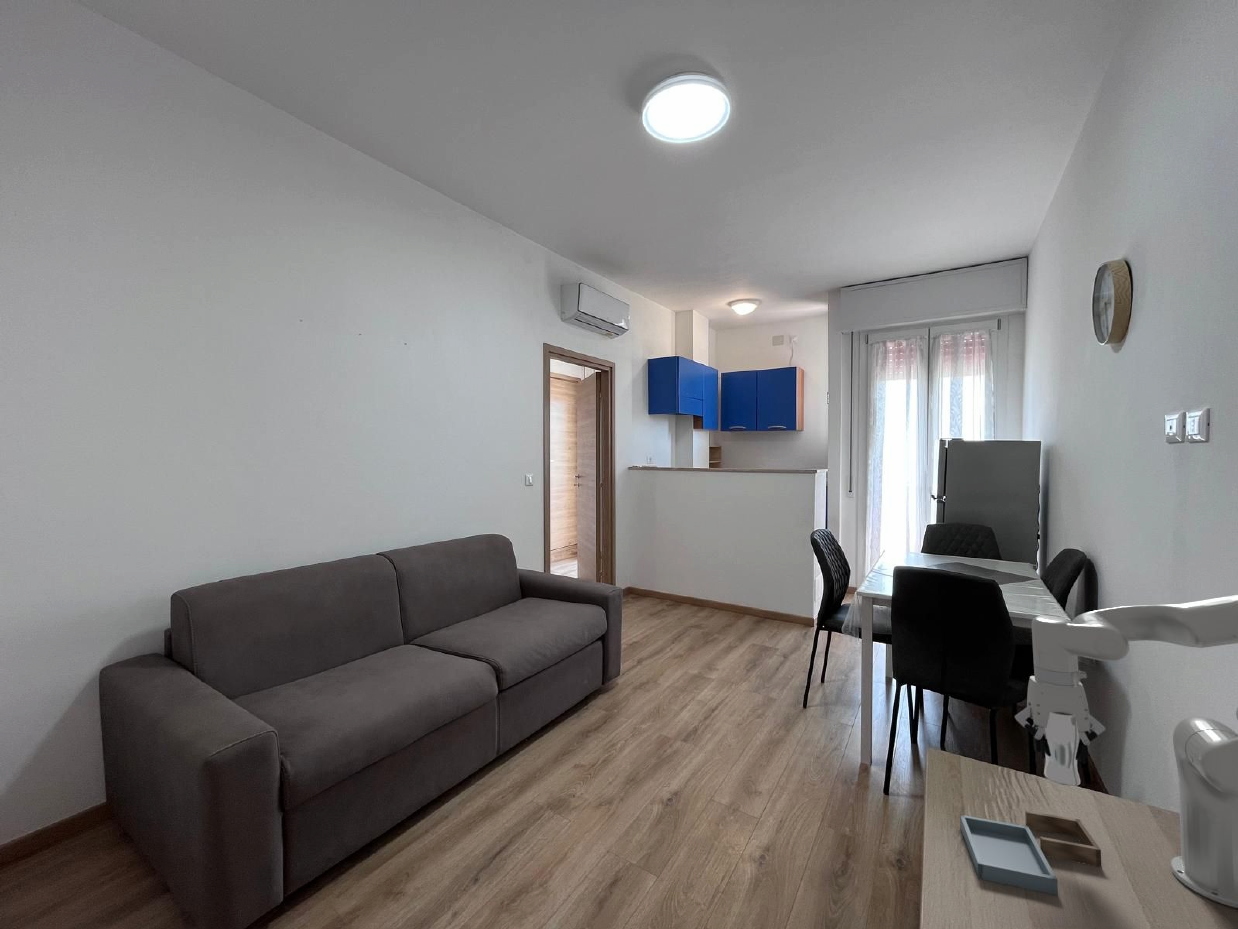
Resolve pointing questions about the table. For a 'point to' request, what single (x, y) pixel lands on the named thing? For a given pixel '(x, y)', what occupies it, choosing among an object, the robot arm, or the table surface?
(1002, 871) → the slate tray
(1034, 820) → the walnut bay
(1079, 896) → the table surface
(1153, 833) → the table surface
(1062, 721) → the silver metal cup
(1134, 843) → the table surface
